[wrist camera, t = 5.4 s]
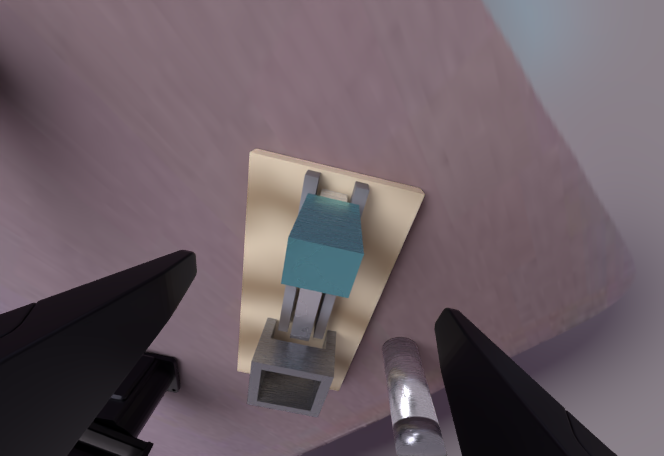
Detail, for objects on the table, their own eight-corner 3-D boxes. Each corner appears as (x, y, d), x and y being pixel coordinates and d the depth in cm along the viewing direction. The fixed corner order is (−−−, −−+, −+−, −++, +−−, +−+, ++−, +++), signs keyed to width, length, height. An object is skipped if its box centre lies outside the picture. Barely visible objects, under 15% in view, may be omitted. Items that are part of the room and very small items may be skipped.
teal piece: (318, 329, 21) (307, 413, 15) (285, 322, 21) (261, 404, 15) (358, 197, 15) (363, 254, 9) (311, 185, 15) (288, 237, 9)
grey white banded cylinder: (409, 362, 24) (434, 467, 17) (377, 355, 24) (389, 459, 17) (422, 341, 23) (455, 448, 16) (388, 334, 23) (406, 439, 16)
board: (339, 379, 27) (338, 403, 24) (241, 360, 26) (232, 382, 24) (419, 188, 16) (430, 201, 14) (256, 148, 15) (241, 155, 13)
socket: (322, 371, 24) (317, 417, 21) (262, 359, 24) (246, 404, 20) (336, 331, 21) (333, 377, 18) (267, 317, 21) (251, 361, 17)
